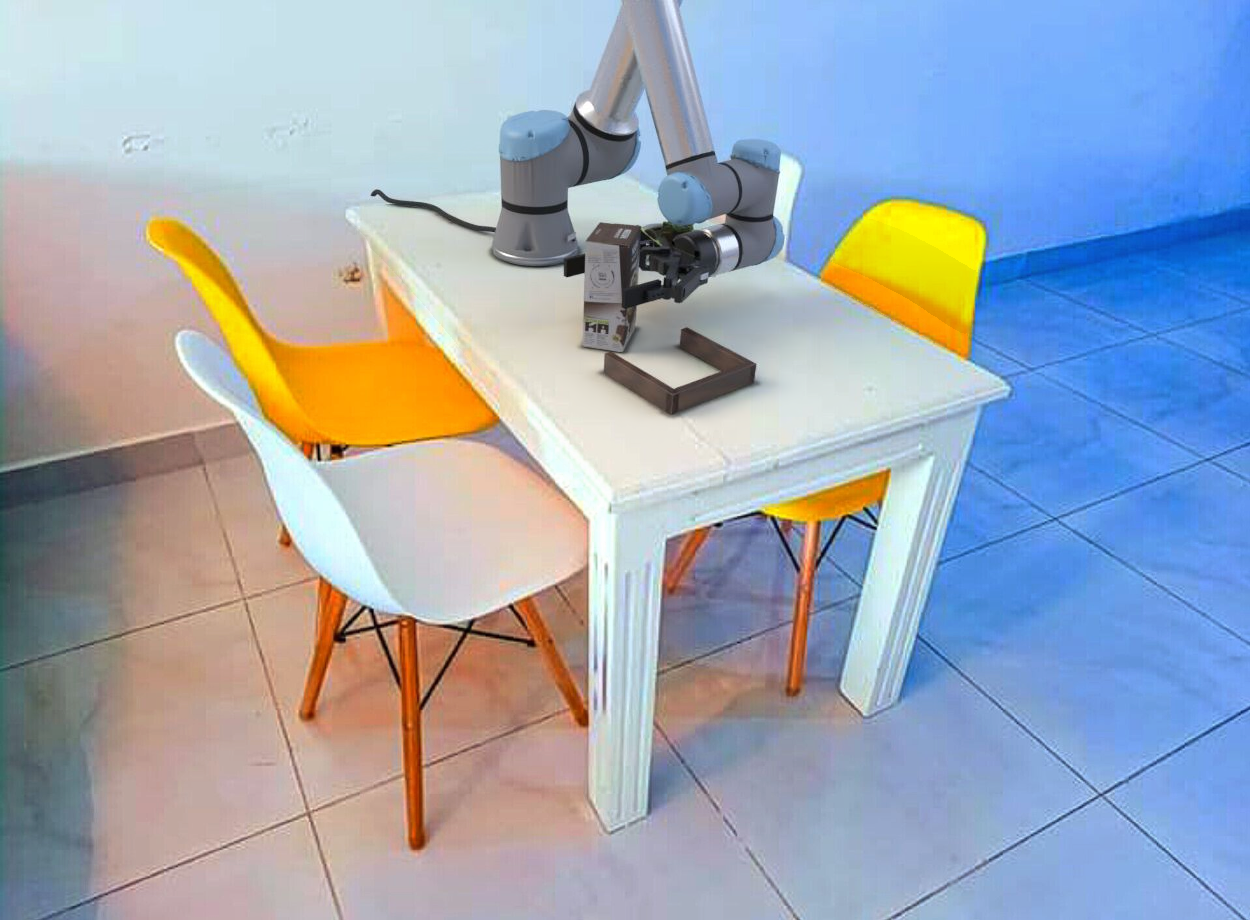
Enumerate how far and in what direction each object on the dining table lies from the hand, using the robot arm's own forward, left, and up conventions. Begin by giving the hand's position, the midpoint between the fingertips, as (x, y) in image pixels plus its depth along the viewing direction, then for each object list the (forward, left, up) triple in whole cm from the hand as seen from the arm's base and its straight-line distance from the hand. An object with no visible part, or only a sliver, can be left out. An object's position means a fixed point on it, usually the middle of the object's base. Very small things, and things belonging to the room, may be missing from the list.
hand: (593, 283), depth 130 cm
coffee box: (0, +3, -10) cm, 10 cm away
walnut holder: (+15, +3, -9) cm, 18 cm away
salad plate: (-24, +36, -10) cm, 44 cm away
